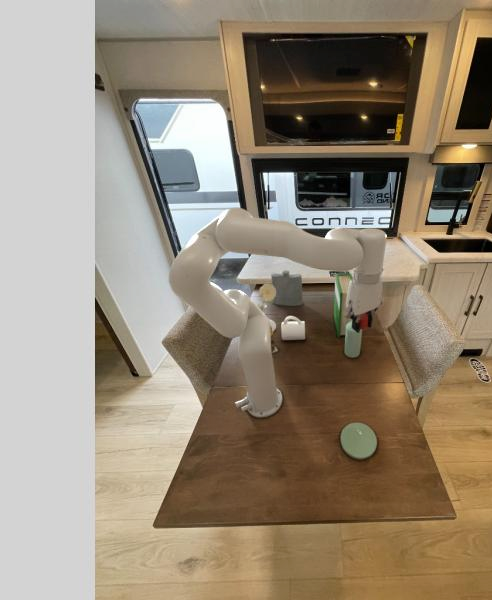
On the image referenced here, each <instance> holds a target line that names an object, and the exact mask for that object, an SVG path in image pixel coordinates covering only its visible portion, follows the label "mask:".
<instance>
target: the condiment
mask: <svg viewBox="0 0 492 600" xmlns="http://www.w3.org/2000/svg"><path fill="white" fill-rule="evenodd" d="M270 329H271V353H272V354H274V353H277V352H278V351H279V349H278V348H277V346H276V345H275V337H274V336H275V335H274V332H273V331H272V327H271V326H270Z"/></svg>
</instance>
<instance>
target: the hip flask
mask: <svg viewBox="0 0 492 600" xmlns="http://www.w3.org/2000/svg"><path fill="white" fill-rule="evenodd" d="M270 277H271V284H272V285H273V286H274V288H276V296H275V297H274V299H275V300H274V301H273V303H274V305H277V306H285V307H286V306H288V307H290V306H291V307H297V306H302V305H303V304H304V301H303V280H302V279H303V277H302V274H299V273H298V274H290V271H289V270H286V269H285V270H282V271H281V273H271V275H270Z"/></svg>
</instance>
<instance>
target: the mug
mask: <svg viewBox="0 0 492 600" xmlns="http://www.w3.org/2000/svg"><path fill="white" fill-rule="evenodd" d="M291 320H292V321H291ZM280 331H281V334H280V336H281V341H300V340H303V341H304V340H306V321H305V320H300V319H299V318H298V317H296V316H294V315H287V316H286V317H285V319H284V320H283V321H282V322H281V326H280Z"/></svg>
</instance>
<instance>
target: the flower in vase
mask: <svg viewBox="0 0 492 600" xmlns="http://www.w3.org/2000/svg"><path fill="white" fill-rule="evenodd" d="M258 296H259V298H260V299H262V301H263V302H261V301H256V303H258V304H256V305H257V306H258V307H259V308H260V309H261V311H262V312H263V313H264V314H265V315H266V308H267V307H268V305H267V304H266V303H265V302H267V303H272V302H274V300H275V299H274V297H275V296H276V288H274V286H273V285H272V283H269V282H268V283H263V284H262V286H260V287H259V291H258ZM268 319H269V322H270V326H271V327H272V331H273V333H274V332H275V330H276V329H277V324H276V322H275V321H274V320H272V319H270V318H268Z"/></svg>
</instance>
